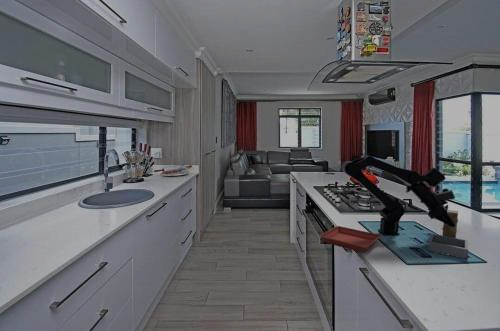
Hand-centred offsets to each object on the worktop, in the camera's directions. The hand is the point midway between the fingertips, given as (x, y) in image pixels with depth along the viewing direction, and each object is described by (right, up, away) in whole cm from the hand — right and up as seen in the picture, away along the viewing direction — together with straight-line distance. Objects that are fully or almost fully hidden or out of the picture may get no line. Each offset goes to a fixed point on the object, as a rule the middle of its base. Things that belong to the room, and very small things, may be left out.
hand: (454, 225), depth 117 cm
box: (-9, -7, -9) cm, 15 cm away
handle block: (-1, -6, +1) cm, 7 cm away
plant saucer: (-43, -7, -3) cm, 44 cm away
